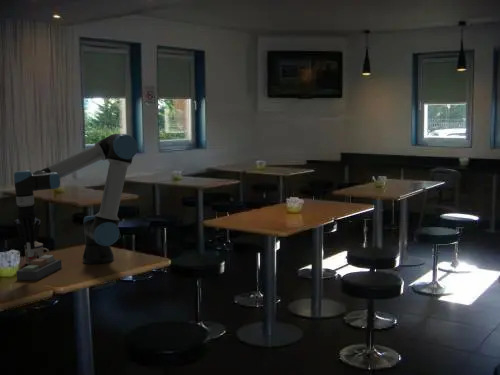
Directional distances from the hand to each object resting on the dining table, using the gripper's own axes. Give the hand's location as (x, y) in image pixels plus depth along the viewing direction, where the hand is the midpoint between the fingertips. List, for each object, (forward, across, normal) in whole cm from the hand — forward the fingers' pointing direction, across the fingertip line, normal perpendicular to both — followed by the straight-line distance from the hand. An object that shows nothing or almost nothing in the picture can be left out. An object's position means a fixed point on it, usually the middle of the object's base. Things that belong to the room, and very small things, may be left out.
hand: (31, 256), depth 288 cm
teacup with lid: (+10, -13, +27) cm, 32 cm away
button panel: (+10, 0, +7) cm, 12 cm away
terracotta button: (+7, 0, +7) cm, 10 cm away
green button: (+9, 0, 0) cm, 9 cm away
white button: (+7, 0, +14) cm, 15 cm away
